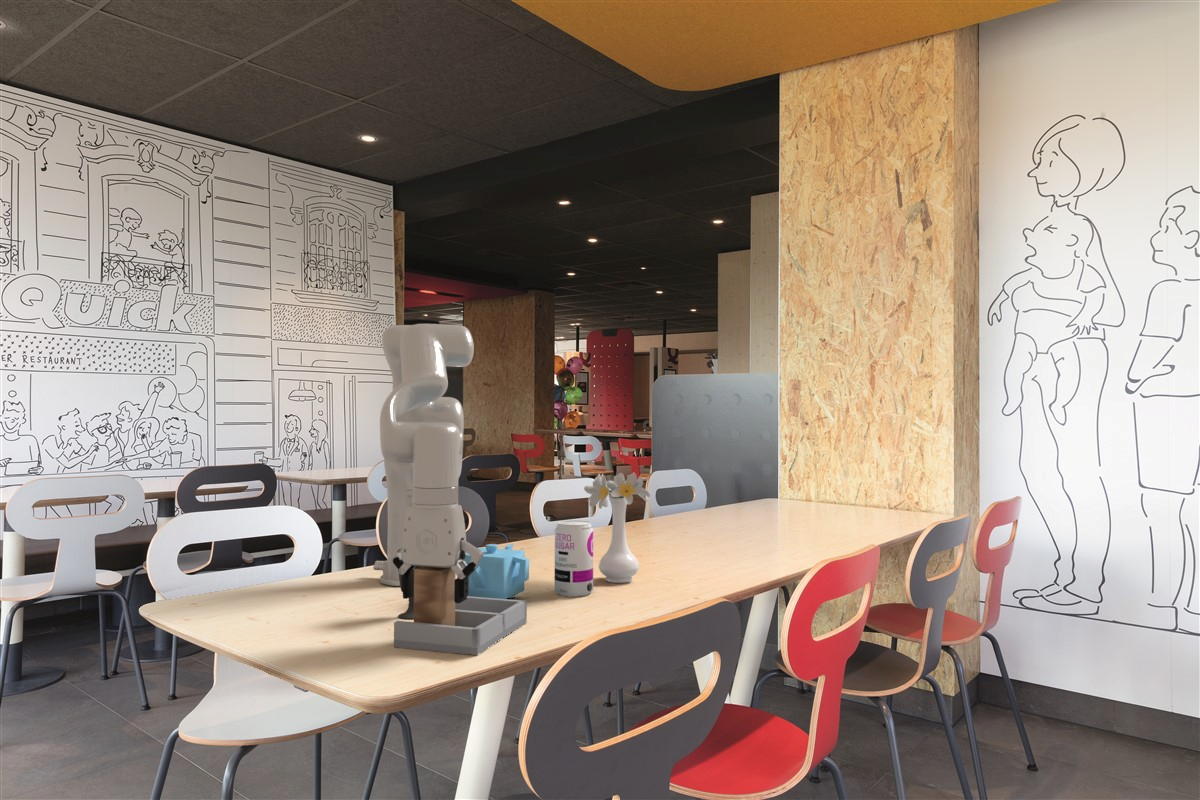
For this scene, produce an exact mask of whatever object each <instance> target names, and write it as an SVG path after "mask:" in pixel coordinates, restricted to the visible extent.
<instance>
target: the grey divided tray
mask: <svg viewBox="0 0 1200 800" xmlns="http://www.w3.org/2000/svg"><path fill="white" fill-rule="evenodd" d="M527 602H528V601H527V600H523V599H522V600H520V599H519V600H518V599H497V598H484V597H471V596H467V599H466V600H465V601H463V602H461V603H455V626H450V625H439V624H428V623H417V622H414V621H405V620H395V621H394V622H393V647H394V648H400V649H401V648H402V649H410V650H417V651H418V650H419V651H429V652H431V651H432V652H437V653H439V652H440V653H450V654H457V653H461V654H460V655H467V654H471V655H470V656H476V655H478V654H479V653H481V652H482V653H484V652H485V651H487V650H488V649H489V648H488V647H490V646H491V645H493V644H494V643H495V642H497V641H498V640H500V639H501V638H503V637H505V636H506V635H508V634H509V633H511V632H512V633H514V632H515V631H516V630H515V629H517V628H518V627H520V626H521V627H523V626H524V625H526V624H527V623H526V622H527V619H528V618H527V610H528V609H527V608H528V607H527V606H528V603H527ZM525 623H526V624H525ZM523 624H524V625H523ZM522 625H523V626H522ZM521 627H520V628H521ZM518 629H519V628H518ZM518 629H517V630H518ZM514 630H515V631H514ZM513 631H514V632H513ZM512 633H511V634H512ZM509 635H510V634H509ZM509 635H508V636H509ZM506 637H507V636H506ZM506 637H505V638H506ZM503 639H504V638H503ZM500 641H501V640H500ZM497 643H498V642H497ZM494 645H495V644H494ZM494 645H493V646H494ZM491 647H492V646H491ZM491 647H490V648H491ZM487 648H488V649H487ZM486 649H487V650H486ZM484 650H485V651H484ZM483 651H484V652H483ZM482 653H481V654H482ZM479 655H480V654H479ZM479 655H478V656H479Z"/></svg>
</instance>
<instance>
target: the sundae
mask: <svg viewBox="0 0 1200 800" xmlns="http://www.w3.org/2000/svg"><path fill="white" fill-rule="evenodd" d="M419 567H422V566H416V567H415V568H414V569H416V568H419ZM414 569H413V571H414ZM398 573H399V570H398ZM399 581H400V586H399V587H400V590H401V592H402V575H401V574H399ZM397 617H398V618H399V619H402V620H414V596H412V597H409V598H408V608H407V610H406V611H405V612H402V613H400V614H399V615H398V616H397Z"/></svg>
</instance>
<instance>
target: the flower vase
mask: <svg viewBox="0 0 1200 800" xmlns="http://www.w3.org/2000/svg"><path fill="white" fill-rule="evenodd" d="M643 486H644V478H643V477H642V476H641V475H639V476H638V477H637V474H636V473H635V472H632V473H630V475H629V474H628V476H627V478H626V480H625V475H624V473H622V472H619V473H617V475H614V476H613V480H607V478H606V475H604V474H603V473H602V474H600V473H598V475H597V476H596V477H595V478H594V480H593V481H592V485H586V486H584V488H583V489H584V491H585V492H586V493H587V494H589V495H590V496H589V497H588V499H587V502H589V507H591V508H593V507H596V505H597V504H598V508H599V509H602V508H603V507H604V508H608V507H609V502H610V505H611V506H610V507H611V513H612V514H611V515H612V526H611V527H612V528H611V529H612V531H611V540H610V544H609V547H608V549H607V551H606V552H605V553H604V555H603V556H602V557H601V558H600V560H599V562H598V569H599V571H600V573H601V574H602V575H603V576H604V577H605V581H606V582H607V581H608V582H607V583H611V584H627V583H631V582H632V581H633V576H635V575H636V574H637V572H638V571H639V569H640V562H639V560H638V558H637V557H636V556H635V555H634V554H633V553H632V552H631V549H630V547H629V545H628V541H627V532H626V530H627V529H626V527H627V526H626V515H627V514H626V512H627V505H632V504H633V502H634V497H633V495H638V496H639V497H640V498H642V499H643V500H644V502H646V503H648V499H647V498H650V497H651V494H650V493H649V491H648V490H646V488H644V487H643ZM607 497H608V498H607ZM646 497H647V498H646ZM608 500H609V502H608Z"/></svg>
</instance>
